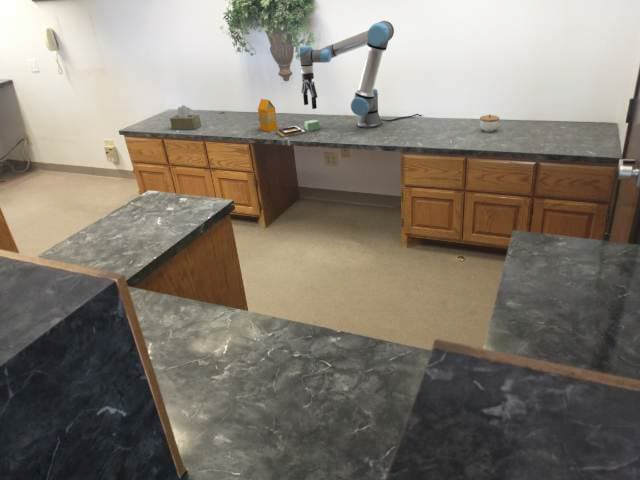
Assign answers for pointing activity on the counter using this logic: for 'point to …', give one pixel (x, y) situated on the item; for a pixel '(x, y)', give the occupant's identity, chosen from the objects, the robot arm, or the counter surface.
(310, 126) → the pale green block
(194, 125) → the tissue box
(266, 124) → the orange juice
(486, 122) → the trinket box
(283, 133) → the tan flat rectangular frame
